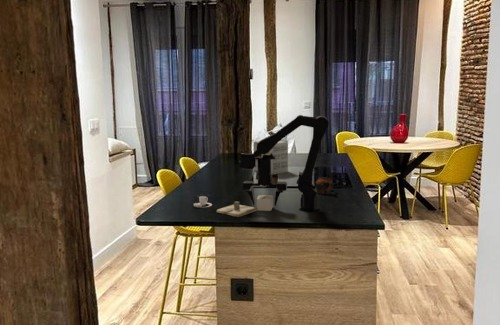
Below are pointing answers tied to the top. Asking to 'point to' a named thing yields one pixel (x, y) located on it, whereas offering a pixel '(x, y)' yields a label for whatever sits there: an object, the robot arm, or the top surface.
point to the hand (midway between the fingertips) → (264, 205)
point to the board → (236, 210)
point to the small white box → (264, 203)
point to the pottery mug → (324, 185)
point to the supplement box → (281, 157)
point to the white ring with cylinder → (202, 202)
